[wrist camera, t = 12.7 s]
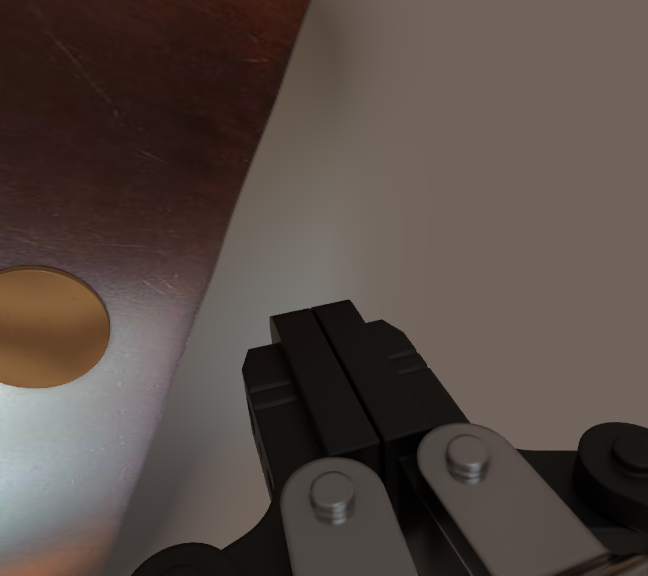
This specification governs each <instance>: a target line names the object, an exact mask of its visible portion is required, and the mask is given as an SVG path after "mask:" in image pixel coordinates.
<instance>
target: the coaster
mask: <svg viewBox="0 0 648 576" xmlns="http://www.w3.org/2000/svg"><path fill="white" fill-rule="evenodd" d="M109 337H110V320H109V315H108V312H107V309H106V307H105V305H104V303H103V301H102V300H101V298H100V297H99V296H98V294H97V293H96V292H95V291H94V290H93V289H92V288H91V287H90V286H88V285H87V284H86V283H84V282H83V281H82V280H80V279H78V278H77V277H75V276H73V275H71V274H68V273H66V272H63V271H60V270H57V269H53V268H48V267H41V266H20V267H13V268H8V269H4V270H1V271H0V382H1V383H4V384H7V385H11V386H15V387H22V388H48V387H54V386H58V385H62V384H65V383H68V382H70V381H73V380H75V379H77V378H79V377H81V376H82V375H84V374H85V373H87V372H88V371H89V370H90V369H92V368H93V367H94V366H95V365H96V364H97V363H98V361H99V360H100V359H101V357H102V356H103V354H104V352H105V350H106V348H107V345H108V342H109Z"/></svg>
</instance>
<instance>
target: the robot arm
mask: <svg viewBox="0 0 648 576" xmlns="http://www.w3.org/2000/svg"><path fill="white" fill-rule="evenodd" d="M270 331H271V338H272V344H270V345H266V346H261V347H257V348H252V349H249V350H248V352H247V355H246V358H245V361H244V364H243V368H242V374H243V380H244V385H245V392H246V397H247V404H248V410H249V416H250V421H251V427H252V433H253V437H254V440H255V444H256V448H257V452H258V454H259V459H260V463H261V466H262V470H263V473H264V477H265V481H266V485H267V488H268V492H269V496H270V499H271V504H270V506H269V508H268V510H267V512H266V514H265V515H264V517H263V518H262V519H261V520H260V522H259V523H258V524H257V525H256V526H255V527H254V528H253V529H252V530H251V531H249V532H248V533H246V534H245V535H244V536H242V537H241V538H239V539H238V540H236V541H235V542H233V543H231V544H230V545H228V546H227V547H225V548H224V549H222V550H220V549H218V548H216V547H213V546H212V545H208V544H204V543H193V542H192V543H182V544H178V545H174V546H171V547H168V548H166V549H163V550H161V551H160V552H158V553H156V554H155V555H153V556H151V557H150V558H148V559H147V560H146V561H144V562H143V563H142V564H141V565H140V566H139V567H138V568H137V569H136V570H135V571H134V573H133V574H132V575H131V576H648V428H645V427H641V426H638V425H634V424H629V423H621V422H610V423H603V424H599V425H596V426H593V427H592V428H590V429H588V430H587V431H586V432H585V433H584V434H583V435H582V437H581V439H580V441H579V446H578V450H577V451H532V450H521V449H515V448H514V447H513V446H512V445H511V444H510V443H509V442H508V441H507V440H506V439H505V438H504V437H503V436H501V435H500V434H498V433H497V432H495V431H493V430H491V429H489V428H486V427H484V426H480V425H476V424H471V423H470V422H469V420H468V419H467V418H466V417H465V415H464V414H463V412H462V411H461V410H460V408H459V407H458V406H457V404H456V403H455V402H454V400H453V399H452V397H451V396H450V395H449V393H448V392H447V391H446V389H445V388H444V387H443V385H442V384H441V383H440V381H439V380H438V379H437V377H436V376H435V375H434V373H433V372H432V370H431V369H430V368H428V367H427V364H426V362H425V361H424V360H423V358H422V357H421V355H420V354H419V353H417V352H416V349H415V347H414V346H413V345H412V343H411V342H410V341H409V339H408V338H407V337H406V335H405V334H404V333H403V332H402V331H400V330H398V329H397V328H395V327H394V326H392V325H390V324H389V323H387V322H385V321H384V320H378V321H373V322H368V323H365V321H364V320H363V318H362V317H361V315H360V314H359V312H358V311H357V309H356V308H355V306H354V305H353V303H352V302H351V301H350V300H344V301H340V302H335V303H330V304H325V305H321V306H316V307H312V308H311V309H309V308H308V309H303V310H299V311H293V312H289V313H284V314H279V315H274V316H270Z"/></svg>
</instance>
